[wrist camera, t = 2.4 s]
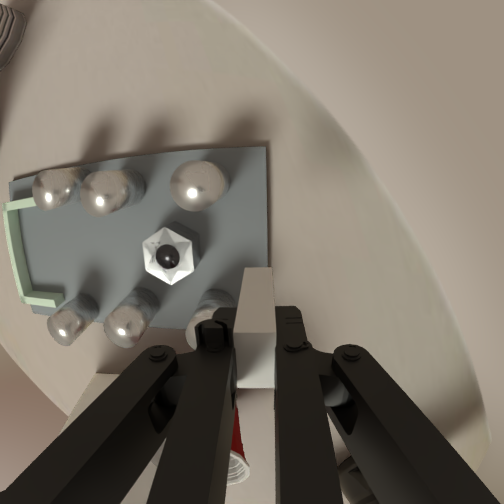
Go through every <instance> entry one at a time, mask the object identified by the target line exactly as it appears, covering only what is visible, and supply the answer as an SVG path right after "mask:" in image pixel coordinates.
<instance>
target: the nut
mask: <svg viewBox="0 0 504 504" xmlns="http://www.w3.org/2000/svg"><path fill="white" fill-rule="evenodd" d="M142 244H143V252H144V260H145V267H146V271H147V272H149V273H151V274H152V275H154V276H156V277H158V278H159V279H161V280H163V281H165V282H167V283H168V284H170V285H172V284H173V283H175V282H177V281H178V280H180V279H182V278H183V277H185V276H187V275H188V274H190V273H192V272H193V271H194V270H195V269H196V267H197V266H198V264H199V263H200V261H201V251H200V237H199V233H197V232H196V231H194V230H192V229H190V228H188V227H186V226H184V225H183V224H181V223H179V222H177V221H173V222H172V223H170V224H169V225H167V226H165V227H164V228H162V229H161V230H160V231H158V232H157V233H155V234H154V235H152V236H151V237H149V238H148V239H147V240H145V241H144V242H142Z"/></svg>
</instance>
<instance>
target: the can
mask: <svg viewBox="0 0 504 504" xmlns="http://www.w3.org/2000/svg"><path fill="white" fill-rule="evenodd" d="M26 24H27V22H26V19H25V17H24V14H23V13H21V12H19V11H16V10H14V9H12V8H9V7H7V6H5V5H2V4H0V71H1V70H2V69H3V68H4V67H5V66H6V65H7V64H8V63H9V62H10V60H11V58H12V56H13V55H14V53H15V51H16V50H17V48H18V46H19V45H20V43H21V41H22V37H23V34H24V31H25V27H26Z"/></svg>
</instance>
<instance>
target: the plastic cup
mask: <svg viewBox="0 0 504 504" xmlns="http://www.w3.org/2000/svg"><path fill="white" fill-rule="evenodd" d="M166 438H167V437H166ZM165 441H166V439H165V440H164V442H163V443H162V445H161V446H160V448H159V449H158V451H157V452H156V454H155V455H154V456H153V458H152V459H151V462H152V463H153V464H154V465H155V466H156V467H157V466H158V463H159V460H160V457H161V454H162V450H163V447H164V444H165ZM249 474H250V467H249V464H248V463H247V461H246V458H245V456H244V451H243V444H242V442H241V433H240V425H239V416H238V408H237V406H236V408H235V417H234V425H233V434H232V443H231V452H230V460H229V469H228V478H227V486H228V485H232V484H236V483H240V482H242V481H244V480H245V479H246V478H248V477H249Z"/></svg>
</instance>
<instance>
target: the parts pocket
mask: <svg viewBox="0 0 504 504" xmlns="http://www.w3.org/2000/svg"><path fill="white" fill-rule="evenodd" d="M33 206H37V205H36V204H35V202H34V199H33V197H30V198H25V199H20V200H15V201H11V202H7V203H3V204H2V209H3V218H4V225H5V232H6V238H7V244H8V249H9V254H10V259H11V264H12V268H13V273H14V277H15V281H16V285H17V288H18V292H19V296H20V299H21V302H22V303H26V304H32V305H39V306H46V307H54V308H56V307H58V306H59V305H60V304H62V303H63V302H64V301H65V299H64V295H63V293H53V292H42V291H33V289H32V285H31V281H30V277H29V273H28V269H27V264H26V259H25V255H24V249H23V244H22V238H21V232H20V225H19V218H18V209H21V208H27V207H33Z"/></svg>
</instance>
